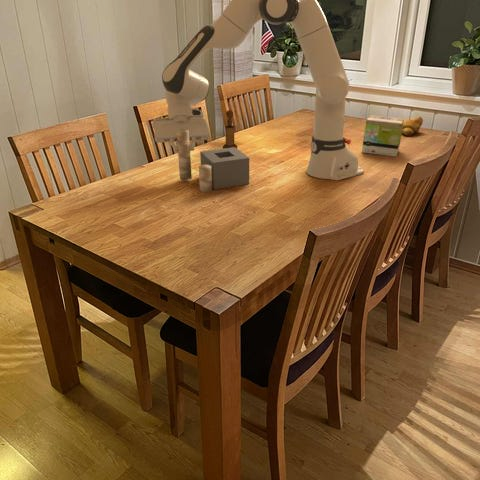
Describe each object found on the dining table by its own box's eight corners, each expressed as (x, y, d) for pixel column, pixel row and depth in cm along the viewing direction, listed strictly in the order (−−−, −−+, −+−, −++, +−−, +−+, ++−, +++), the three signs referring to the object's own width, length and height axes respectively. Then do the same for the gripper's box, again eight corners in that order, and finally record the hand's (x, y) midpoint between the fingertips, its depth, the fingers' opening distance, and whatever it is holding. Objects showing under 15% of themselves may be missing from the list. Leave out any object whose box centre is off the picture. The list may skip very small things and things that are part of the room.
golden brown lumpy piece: (412, 138, 227) (415, 121, 223) (393, 134, 232) (396, 118, 228) (422, 132, 235) (425, 116, 232) (403, 129, 241) (405, 113, 237)
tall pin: (189, 175, 179) (186, 128, 170) (193, 179, 175) (190, 131, 166) (178, 177, 177) (175, 129, 169) (181, 180, 174) (178, 133, 165)
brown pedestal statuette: (235, 154, 205) (235, 112, 196) (221, 153, 206) (220, 111, 198) (238, 149, 211) (238, 109, 202) (224, 148, 212) (224, 108, 203)
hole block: (234, 171, 185) (234, 147, 181) (249, 183, 174) (249, 157, 169) (201, 176, 181) (200, 151, 176) (213, 189, 169) (213, 162, 165)
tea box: (361, 153, 206) (365, 119, 199) (364, 146, 214) (369, 114, 207) (396, 157, 201) (402, 123, 194) (399, 150, 209) (404, 117, 202)
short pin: (209, 187, 171) (208, 164, 167) (213, 191, 167) (213, 167, 163) (198, 189, 169) (197, 165, 165) (202, 193, 166) (201, 169, 162)
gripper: (151, 113, 169) (154, 148, 166) (207, 111, 173) (212, 144, 169) (152, 123, 175) (155, 156, 172) (206, 120, 179) (210, 152, 175)
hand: (184, 150), depth 170 cm, fingers closed on tall pin, 4 cm apart
